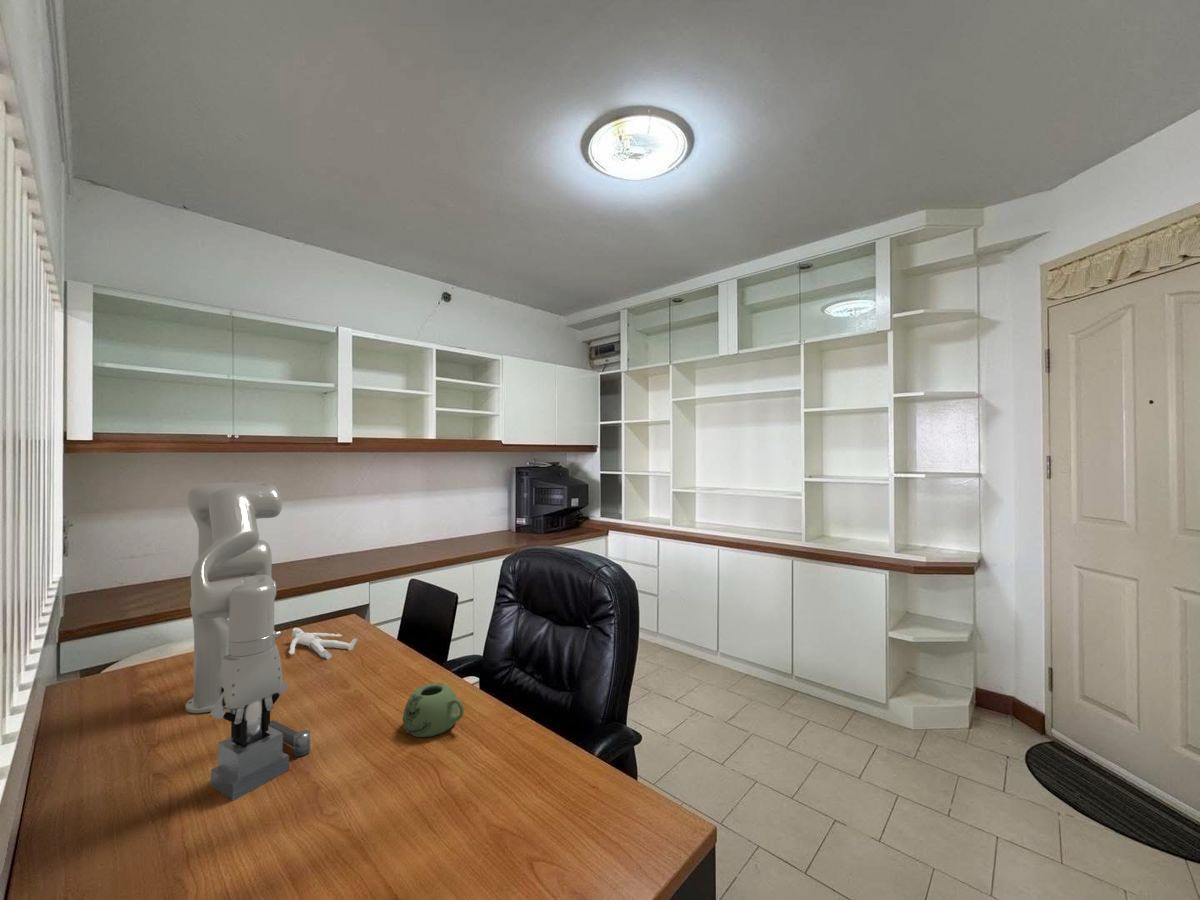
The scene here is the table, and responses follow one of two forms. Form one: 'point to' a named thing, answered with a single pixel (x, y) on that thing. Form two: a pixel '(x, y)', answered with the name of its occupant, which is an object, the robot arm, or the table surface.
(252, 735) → the rod
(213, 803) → the table surface
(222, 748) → the block
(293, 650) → the figurine
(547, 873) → the table surface
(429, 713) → the mug
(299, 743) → the lever
